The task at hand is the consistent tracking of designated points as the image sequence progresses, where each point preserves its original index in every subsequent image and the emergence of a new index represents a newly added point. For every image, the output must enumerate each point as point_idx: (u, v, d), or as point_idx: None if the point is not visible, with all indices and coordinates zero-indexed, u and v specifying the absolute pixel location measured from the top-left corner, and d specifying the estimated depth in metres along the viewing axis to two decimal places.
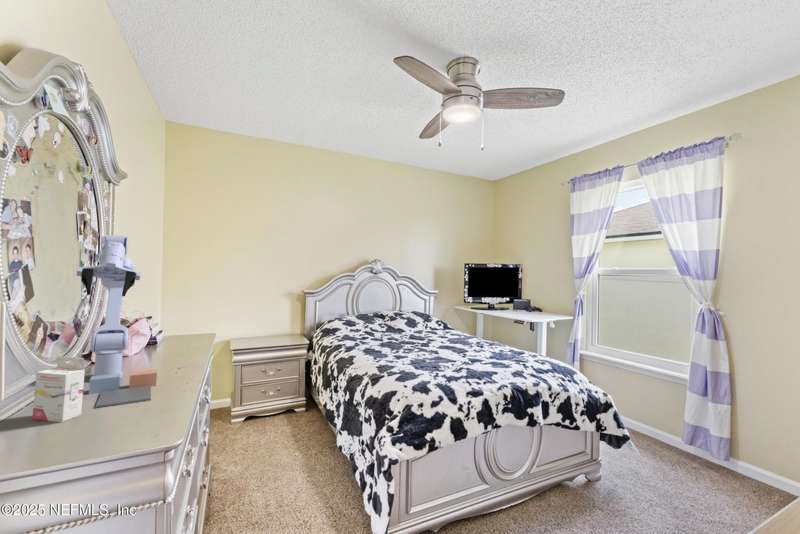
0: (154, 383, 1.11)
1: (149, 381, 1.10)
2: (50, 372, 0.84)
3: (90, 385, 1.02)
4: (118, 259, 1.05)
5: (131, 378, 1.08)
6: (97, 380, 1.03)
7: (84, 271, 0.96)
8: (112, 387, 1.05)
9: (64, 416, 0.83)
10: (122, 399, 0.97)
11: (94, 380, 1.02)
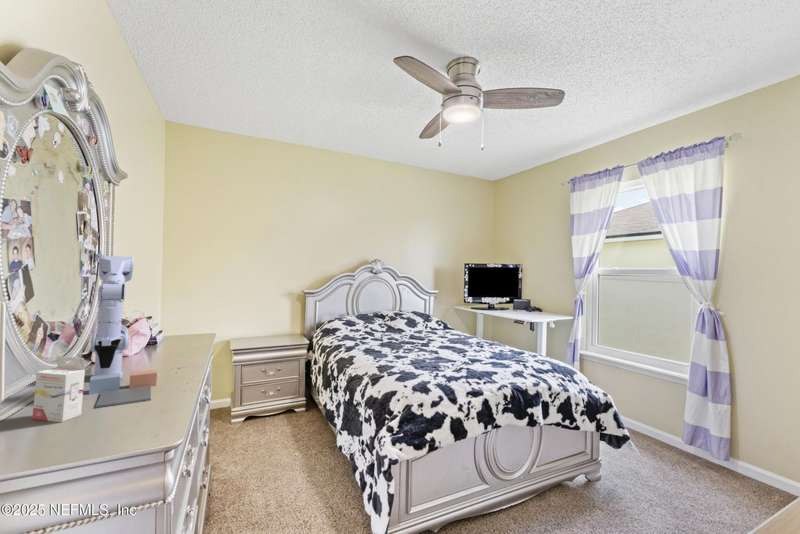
0: (154, 383, 1.11)
1: (149, 381, 1.10)
2: (50, 372, 0.84)
3: (90, 385, 1.02)
4: None
5: (131, 378, 1.08)
6: (97, 380, 1.03)
7: (116, 348, 1.03)
8: (112, 387, 1.05)
9: (64, 416, 0.83)
10: (122, 399, 0.97)
11: (94, 380, 1.02)
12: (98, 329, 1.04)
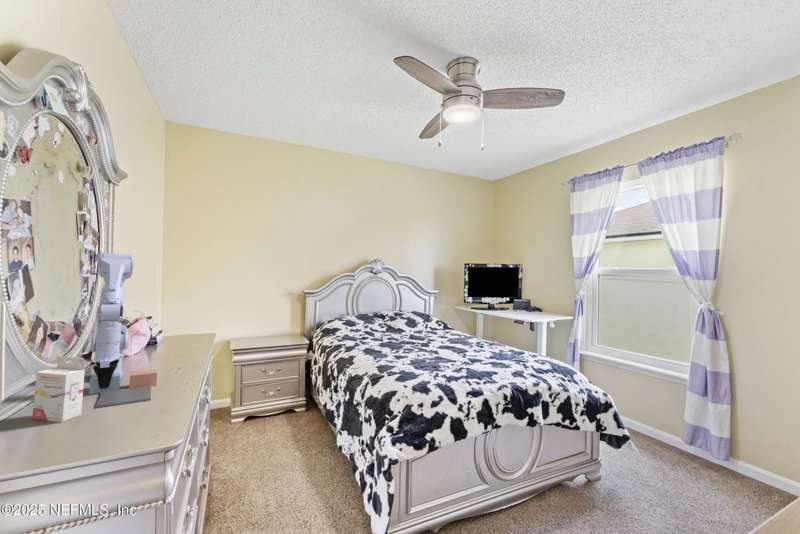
0: (154, 383, 1.11)
1: (149, 381, 1.10)
2: (50, 372, 0.84)
3: (90, 385, 1.02)
4: None
5: (131, 378, 1.08)
6: (97, 379, 1.03)
7: (115, 369, 1.04)
8: (112, 386, 1.05)
9: (64, 416, 0.83)
10: (122, 399, 0.97)
11: (94, 379, 1.02)
12: (96, 350, 1.03)
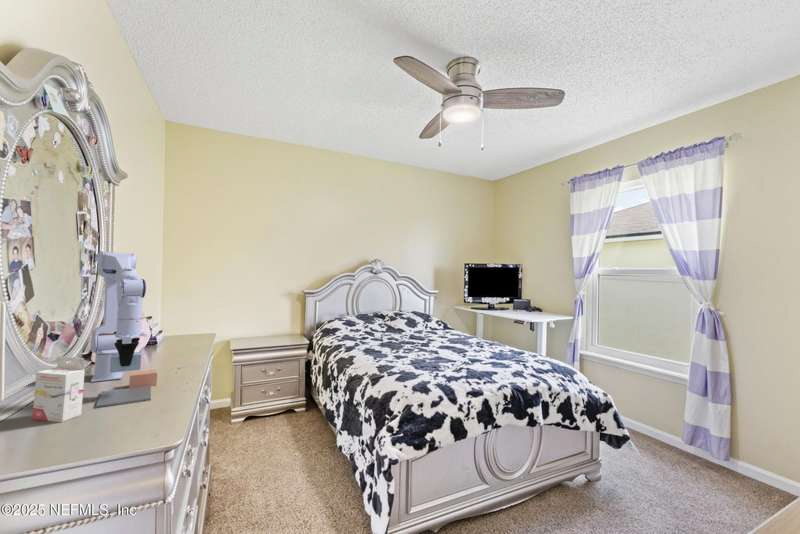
0: (154, 383, 1.11)
1: (150, 381, 1.10)
2: (50, 372, 0.84)
3: (111, 362, 0.98)
4: None
5: (131, 378, 1.07)
6: (118, 357, 0.99)
7: (136, 346, 1.00)
8: (133, 365, 1.01)
9: (64, 416, 0.83)
10: (122, 399, 0.97)
11: (115, 357, 0.98)
12: (117, 326, 0.99)
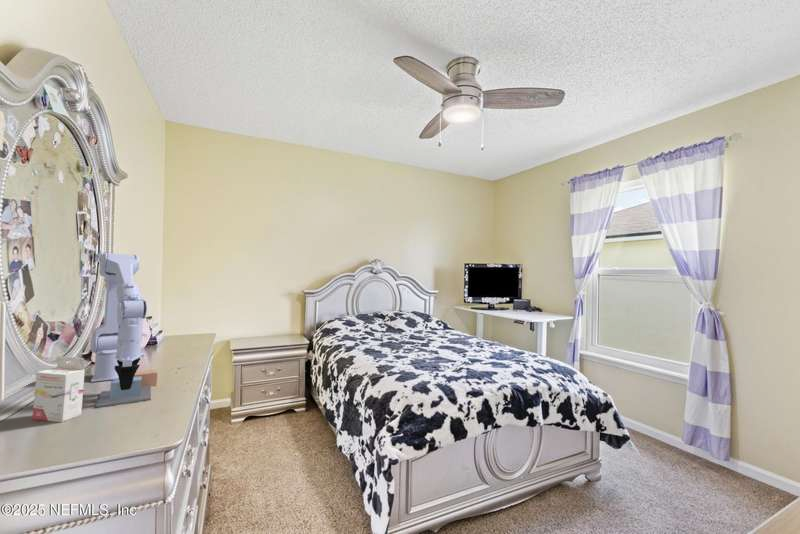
0: (154, 383, 1.11)
1: (150, 381, 1.10)
2: (50, 372, 0.84)
3: (111, 389, 0.97)
4: None
5: None
6: (118, 383, 0.98)
7: None
8: (134, 390, 1.00)
9: (64, 416, 0.83)
10: (122, 399, 0.97)
11: (115, 383, 0.98)
12: (118, 348, 0.99)
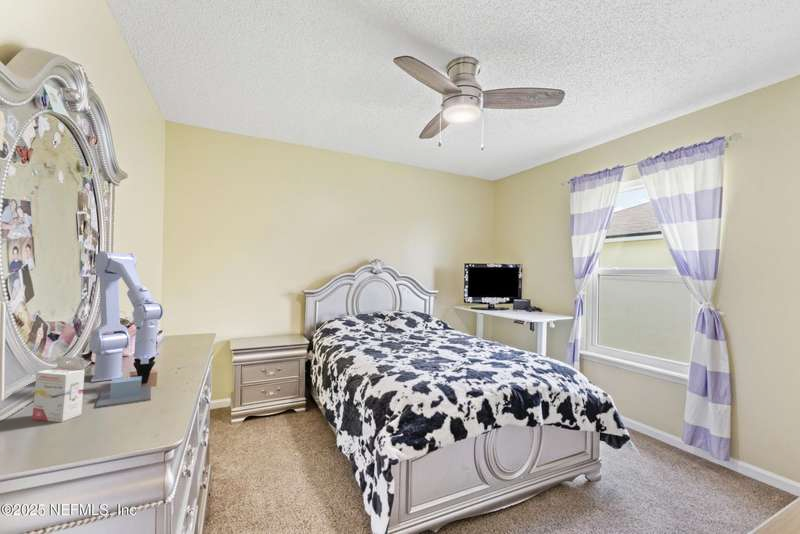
0: (154, 382, 1.11)
1: (150, 380, 1.10)
2: (50, 372, 0.84)
3: (111, 389, 0.97)
4: None
5: None
6: (118, 383, 0.98)
7: (153, 365, 1.09)
8: (134, 390, 1.00)
9: (64, 416, 0.83)
10: (122, 399, 0.97)
11: (115, 383, 0.98)
12: (136, 347, 1.09)
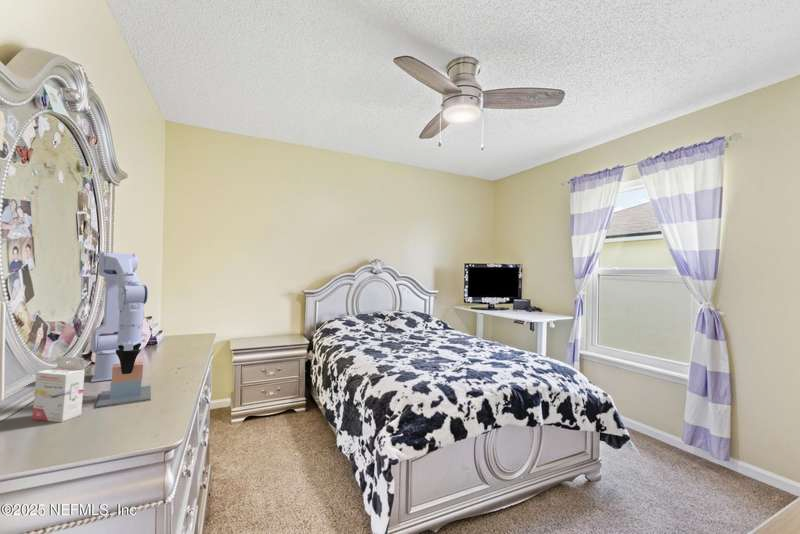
0: (140, 376, 1.01)
1: (134, 374, 1.00)
2: (50, 372, 0.84)
3: (111, 389, 0.97)
4: None
5: (114, 370, 0.97)
6: (118, 383, 0.98)
7: (138, 353, 0.98)
8: (134, 390, 1.00)
9: (64, 416, 0.83)
10: (122, 399, 0.97)
11: (115, 383, 0.98)
12: (119, 333, 0.99)
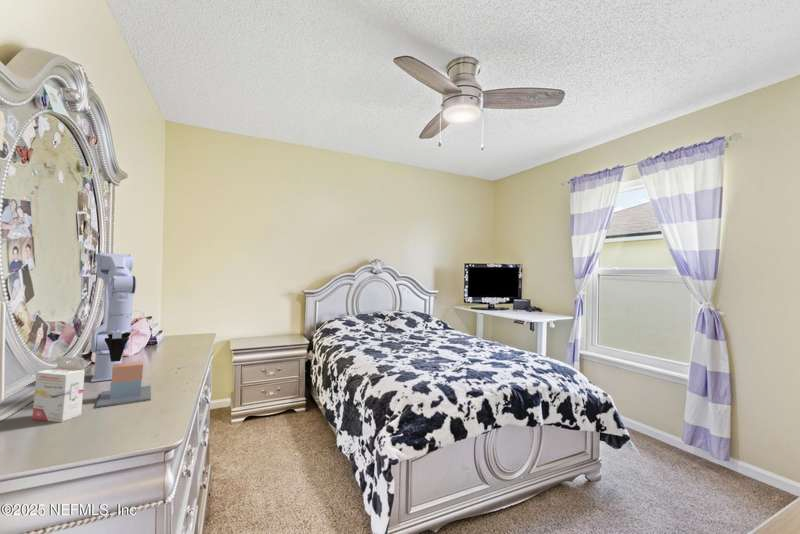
0: (140, 376, 1.01)
1: (134, 374, 1.00)
2: (50, 372, 0.84)
3: (111, 389, 0.97)
4: None
5: (114, 370, 0.97)
6: (118, 383, 0.98)
7: (127, 341, 1.01)
8: (134, 390, 1.00)
9: (64, 416, 0.83)
10: (122, 399, 0.97)
11: (115, 383, 0.98)
12: (108, 322, 1.02)
